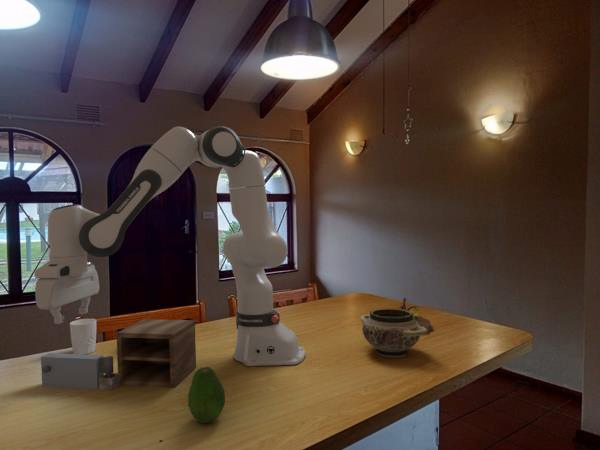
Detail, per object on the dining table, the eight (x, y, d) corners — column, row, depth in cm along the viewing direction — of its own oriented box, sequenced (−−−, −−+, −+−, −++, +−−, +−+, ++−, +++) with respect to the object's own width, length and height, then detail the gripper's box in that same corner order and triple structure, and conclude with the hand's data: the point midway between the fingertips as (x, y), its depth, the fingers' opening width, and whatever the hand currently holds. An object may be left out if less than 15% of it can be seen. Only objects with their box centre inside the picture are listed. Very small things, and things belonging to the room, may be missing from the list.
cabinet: (196, 367, 126) (194, 320, 126) (169, 393, 109) (167, 338, 109) (135, 365, 129) (133, 318, 129) (99, 389, 112) (97, 336, 112)
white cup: (102, 348, 145) (101, 319, 145) (84, 356, 138) (82, 325, 138) (84, 346, 148) (83, 317, 148) (65, 354, 141) (63, 323, 140)
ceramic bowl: (437, 368, 130) (444, 318, 132) (398, 366, 120) (406, 312, 122) (378, 347, 150) (385, 304, 152) (340, 344, 140) (348, 298, 142)
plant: (434, 323, 171) (433, 295, 170) (430, 337, 152) (430, 306, 152) (383, 319, 178) (382, 292, 177) (373, 333, 159) (373, 302, 159)
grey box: (38, 388, 114) (37, 358, 114) (50, 382, 118) (49, 353, 118) (107, 391, 111) (106, 361, 111) (116, 385, 115) (115, 355, 115)
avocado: (181, 426, 92) (179, 371, 92) (202, 410, 100) (200, 359, 99) (213, 433, 89) (212, 376, 89) (232, 415, 97) (231, 362, 96)
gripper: (83, 261, 125) (86, 308, 126) (28, 272, 105) (32, 329, 105) (103, 260, 124) (106, 308, 125) (52, 272, 104) (55, 329, 104)
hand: (72, 318), depth 115 cm, fingers open, 8 cm apart
